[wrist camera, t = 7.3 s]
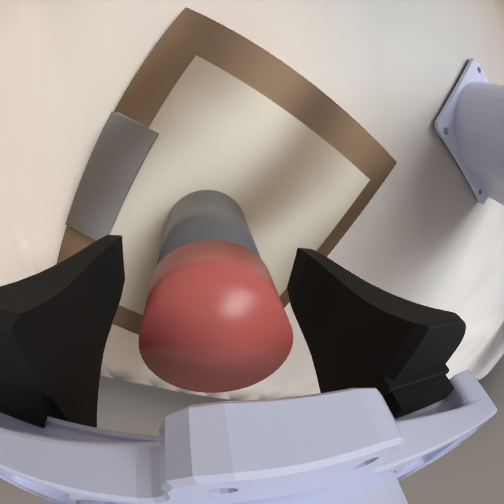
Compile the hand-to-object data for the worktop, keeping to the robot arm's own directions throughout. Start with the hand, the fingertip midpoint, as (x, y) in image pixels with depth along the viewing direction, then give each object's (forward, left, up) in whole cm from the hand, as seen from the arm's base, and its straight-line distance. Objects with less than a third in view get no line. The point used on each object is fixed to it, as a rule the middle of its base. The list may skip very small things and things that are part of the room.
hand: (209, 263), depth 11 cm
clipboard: (0, 0, -4) cm, 4 cm away
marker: (0, 0, -3) cm, 3 cm away
